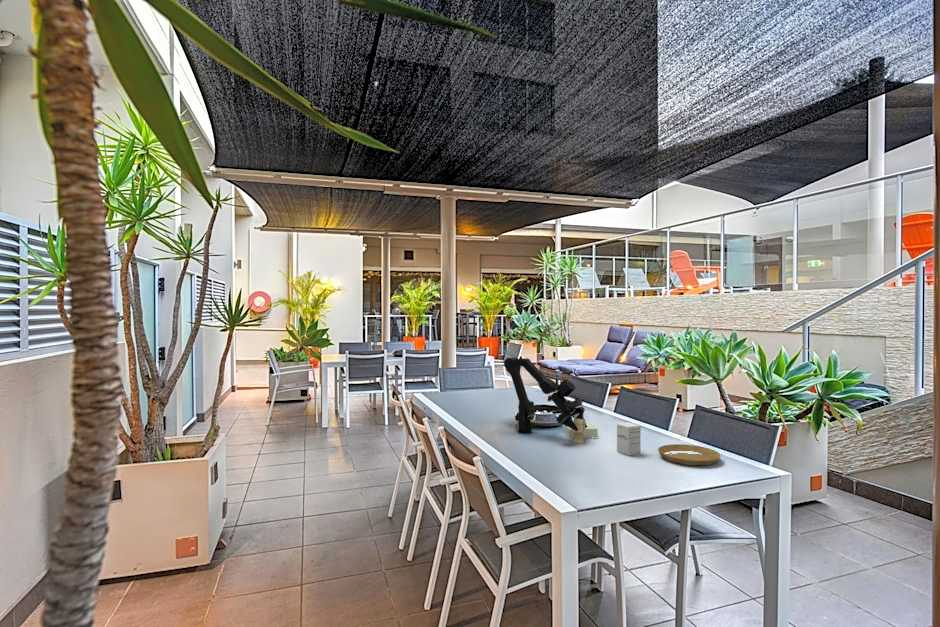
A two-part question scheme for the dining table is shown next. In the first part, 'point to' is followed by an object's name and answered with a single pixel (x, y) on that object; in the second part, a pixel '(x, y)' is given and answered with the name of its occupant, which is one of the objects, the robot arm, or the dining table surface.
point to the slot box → (589, 431)
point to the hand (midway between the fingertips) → (582, 429)
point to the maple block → (579, 430)
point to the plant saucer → (689, 459)
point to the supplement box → (628, 438)
